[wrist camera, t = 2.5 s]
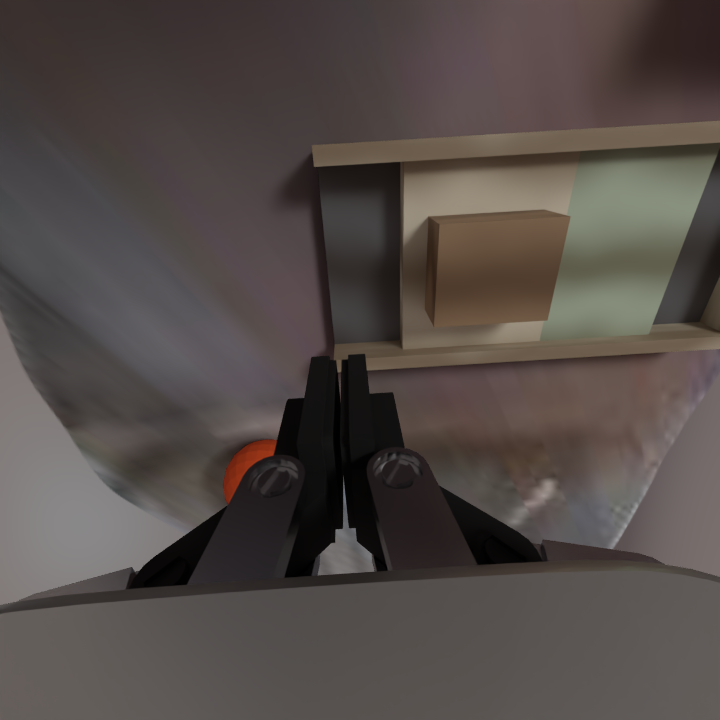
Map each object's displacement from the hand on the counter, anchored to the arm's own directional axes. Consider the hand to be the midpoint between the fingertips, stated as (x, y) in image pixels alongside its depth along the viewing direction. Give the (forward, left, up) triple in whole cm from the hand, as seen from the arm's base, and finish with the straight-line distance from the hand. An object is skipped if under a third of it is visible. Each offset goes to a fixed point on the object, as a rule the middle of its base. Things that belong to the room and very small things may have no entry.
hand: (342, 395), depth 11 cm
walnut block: (0, +9, -14) cm, 16 cm away
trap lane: (0, +13, -16) cm, 21 cm away
